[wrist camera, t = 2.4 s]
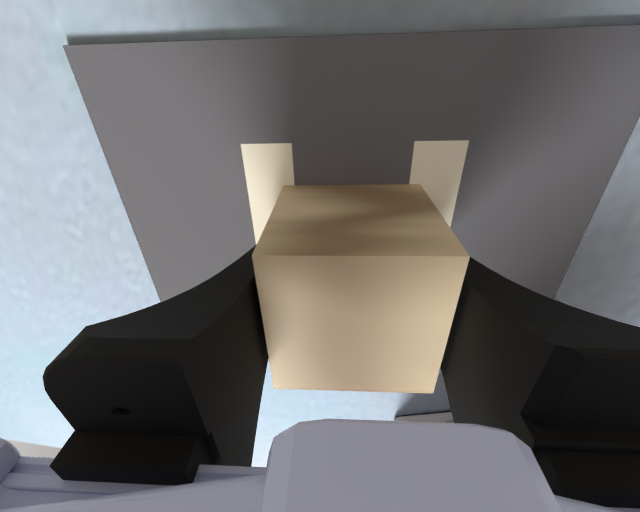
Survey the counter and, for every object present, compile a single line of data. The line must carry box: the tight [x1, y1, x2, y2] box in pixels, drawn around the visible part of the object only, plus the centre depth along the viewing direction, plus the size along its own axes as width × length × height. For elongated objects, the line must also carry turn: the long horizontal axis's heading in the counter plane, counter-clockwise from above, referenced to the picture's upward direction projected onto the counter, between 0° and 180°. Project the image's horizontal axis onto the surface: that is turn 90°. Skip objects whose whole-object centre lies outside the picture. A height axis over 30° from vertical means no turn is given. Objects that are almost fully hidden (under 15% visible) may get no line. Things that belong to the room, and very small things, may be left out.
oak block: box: [252, 184, 470, 393], centre depth 11 cm, size 5×5×5 cm
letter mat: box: [63, 25, 640, 302], centre depth 13 cm, size 18×14×1 cm
